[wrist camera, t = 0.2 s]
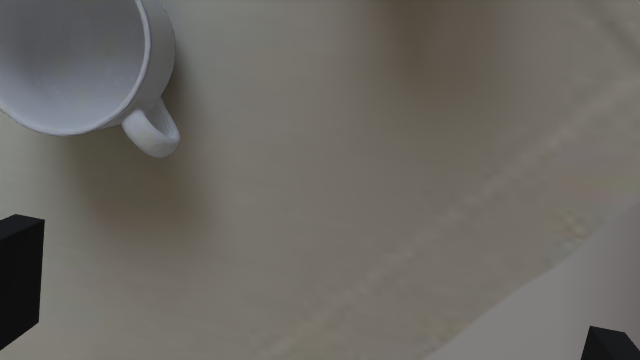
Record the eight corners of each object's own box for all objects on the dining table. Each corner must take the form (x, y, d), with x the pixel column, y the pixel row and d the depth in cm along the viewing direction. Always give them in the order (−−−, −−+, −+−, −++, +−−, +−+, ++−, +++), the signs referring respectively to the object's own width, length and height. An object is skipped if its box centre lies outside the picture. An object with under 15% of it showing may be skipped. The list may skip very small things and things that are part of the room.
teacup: (15, 17, 43) (-70, 8, 35) (138, -70, 41) (77, -100, 33) (122, 188, 44) (64, 216, 36) (247, 113, 42) (212, 126, 34)
